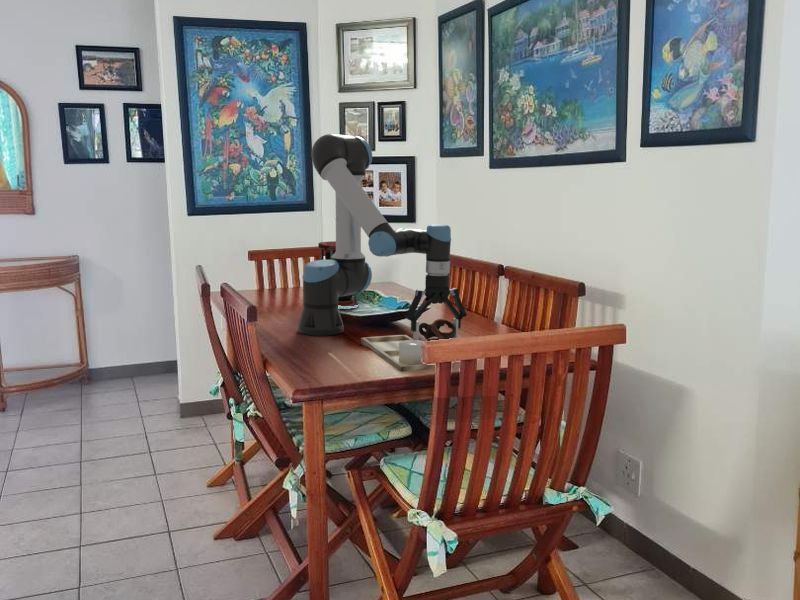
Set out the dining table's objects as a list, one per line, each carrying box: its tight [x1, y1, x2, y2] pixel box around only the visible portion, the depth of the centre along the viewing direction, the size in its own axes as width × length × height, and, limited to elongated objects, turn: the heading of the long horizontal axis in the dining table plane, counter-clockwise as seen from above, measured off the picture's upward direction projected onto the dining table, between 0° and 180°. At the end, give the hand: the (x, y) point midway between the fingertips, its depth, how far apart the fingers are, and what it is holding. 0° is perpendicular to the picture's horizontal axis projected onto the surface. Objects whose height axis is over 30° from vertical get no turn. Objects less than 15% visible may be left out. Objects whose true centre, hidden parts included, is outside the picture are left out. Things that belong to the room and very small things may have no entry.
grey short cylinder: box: [399, 339, 425, 365], centre depth 207 cm, size 9×9×5 cm
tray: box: [360, 334, 435, 372], centre depth 216 cm, size 15×35×2 cm, turn 21°
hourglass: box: [317, 240, 360, 306], centre depth 286 cm, size 16×16×25 cm
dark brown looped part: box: [419, 318, 455, 340], centre depth 234 cm, size 12×10×8 cm
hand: (435, 339), depth 233 cm, fingers open, 13 cm apart
